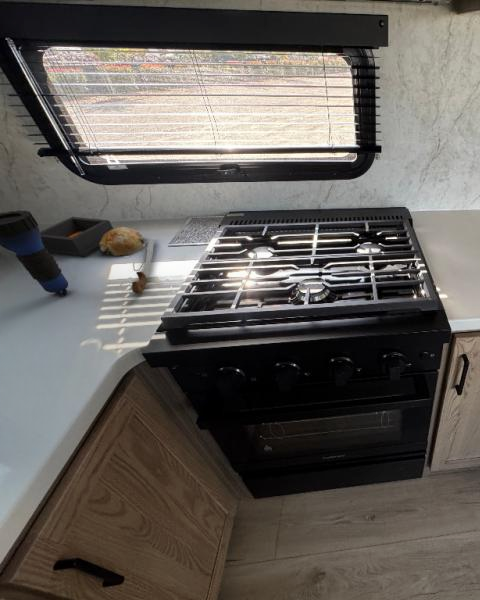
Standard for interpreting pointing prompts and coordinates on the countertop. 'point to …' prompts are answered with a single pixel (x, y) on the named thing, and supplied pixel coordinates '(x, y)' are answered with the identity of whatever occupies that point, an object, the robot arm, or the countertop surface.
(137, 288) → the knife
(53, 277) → the flashlight
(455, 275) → the countertop surface
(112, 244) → the bread roll
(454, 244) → the countertop surface
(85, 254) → the dark grey tray
